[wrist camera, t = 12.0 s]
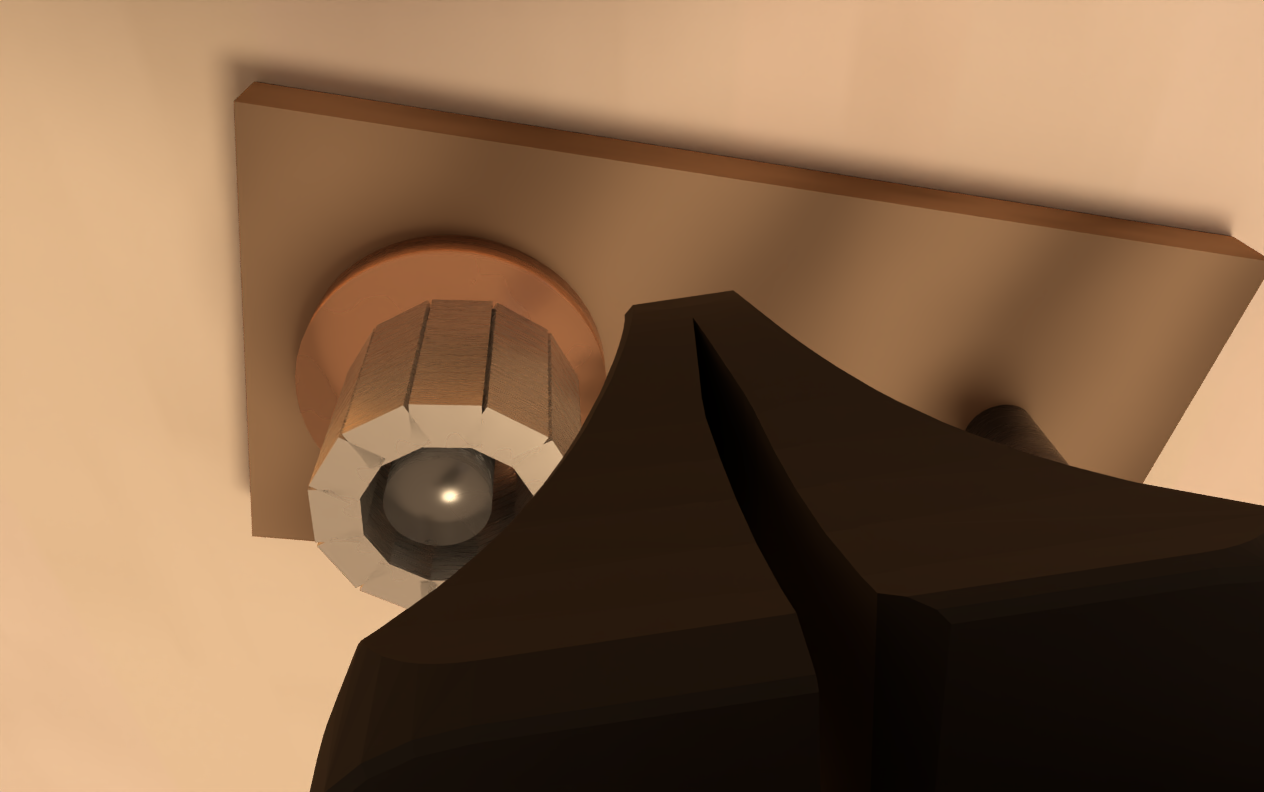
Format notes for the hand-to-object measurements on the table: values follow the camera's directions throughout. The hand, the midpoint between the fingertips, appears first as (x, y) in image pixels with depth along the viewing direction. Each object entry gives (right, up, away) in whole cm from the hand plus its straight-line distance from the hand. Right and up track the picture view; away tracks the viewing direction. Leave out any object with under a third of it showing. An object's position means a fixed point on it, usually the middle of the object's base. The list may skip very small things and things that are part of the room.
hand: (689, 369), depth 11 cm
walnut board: (+2, 0, +12) cm, 13 cm away
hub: (-5, 0, +10) cm, 11 cm away
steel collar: (-4, 0, +9) cm, 10 cm away
